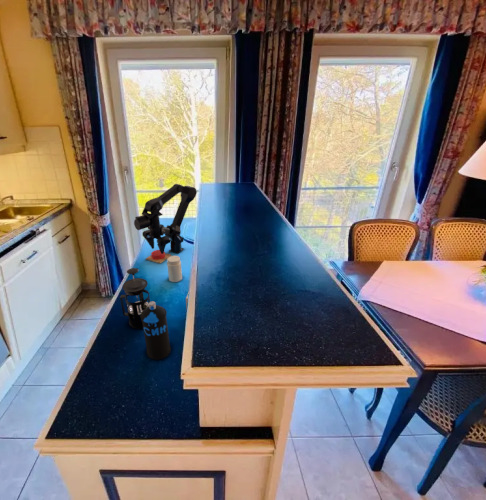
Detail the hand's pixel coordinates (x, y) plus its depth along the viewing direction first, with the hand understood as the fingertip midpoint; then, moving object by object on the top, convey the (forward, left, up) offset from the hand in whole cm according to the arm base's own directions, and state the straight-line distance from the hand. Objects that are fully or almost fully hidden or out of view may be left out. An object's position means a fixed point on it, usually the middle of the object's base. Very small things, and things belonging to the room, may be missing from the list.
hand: (157, 251), depth 155 cm
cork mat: (0, 0, -4) cm, 4 cm away
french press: (+46, +26, -4) cm, 53 cm away
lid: (0, 0, -2) cm, 2 cm away
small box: (+33, +44, -4) cm, 55 cm away
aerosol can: (+55, +42, -4) cm, 69 cm away
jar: (+14, +21, -4) cm, 26 cm away
